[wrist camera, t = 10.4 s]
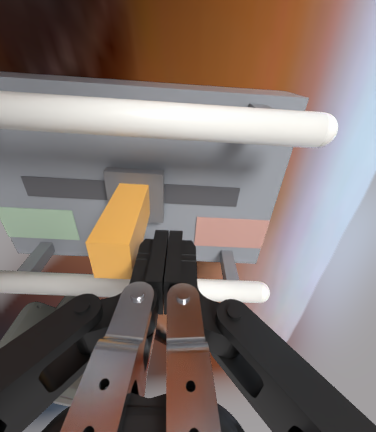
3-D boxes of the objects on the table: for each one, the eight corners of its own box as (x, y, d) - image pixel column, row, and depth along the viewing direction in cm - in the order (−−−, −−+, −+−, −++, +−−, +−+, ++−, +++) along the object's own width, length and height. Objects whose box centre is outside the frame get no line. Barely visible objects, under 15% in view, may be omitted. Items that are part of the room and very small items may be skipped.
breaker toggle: (106, 166, 16) (58, 227, 10) (164, 170, 16) (150, 232, 10) (113, 214, 18) (78, 287, 12) (164, 217, 18) (152, 290, 12)
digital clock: (21, 300, 31) (-45, 394, 22) (57, 271, 28) (-4, 367, 19) (113, 346, 38) (91, 431, 29) (151, 327, 35) (138, 416, 26)
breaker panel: (-18, 70, 16) (-188, 75, 9) (285, 91, 17) (359, 112, 10) (41, 226, 24) (-23, 298, 17) (246, 236, 25) (271, 309, 17)
